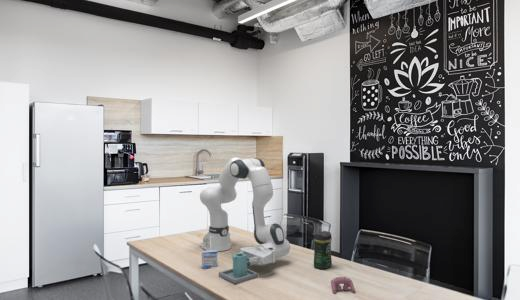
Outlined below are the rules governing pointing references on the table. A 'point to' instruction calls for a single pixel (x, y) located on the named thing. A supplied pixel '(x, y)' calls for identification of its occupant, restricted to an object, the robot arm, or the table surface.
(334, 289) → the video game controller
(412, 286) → the table surface
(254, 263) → the stand
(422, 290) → the table surface
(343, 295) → the table surface
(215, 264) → the medicine box
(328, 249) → the coffee jar
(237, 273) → the tabbed sleeve
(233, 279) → the tray
